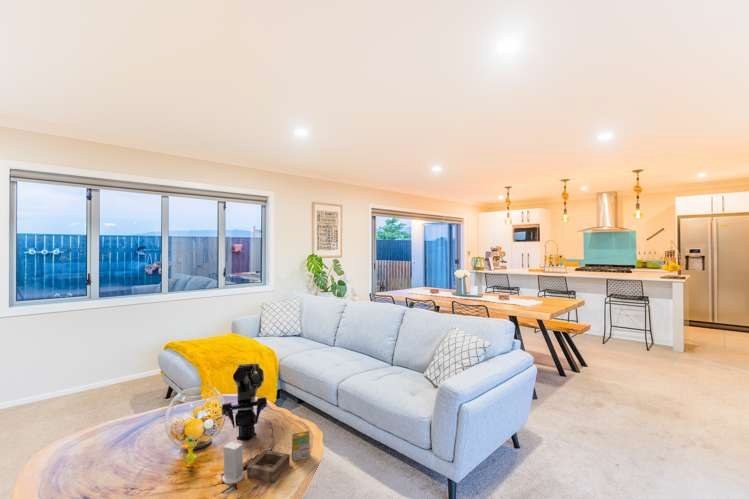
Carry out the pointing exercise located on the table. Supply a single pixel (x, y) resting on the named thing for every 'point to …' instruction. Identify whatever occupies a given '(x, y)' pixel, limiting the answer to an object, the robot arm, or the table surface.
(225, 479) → the ceramic coaster
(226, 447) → the skincare box
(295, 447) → the crayon box
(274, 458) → the walnut holder block
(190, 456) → the toy figure
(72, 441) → the table surface
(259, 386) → the robot arm
